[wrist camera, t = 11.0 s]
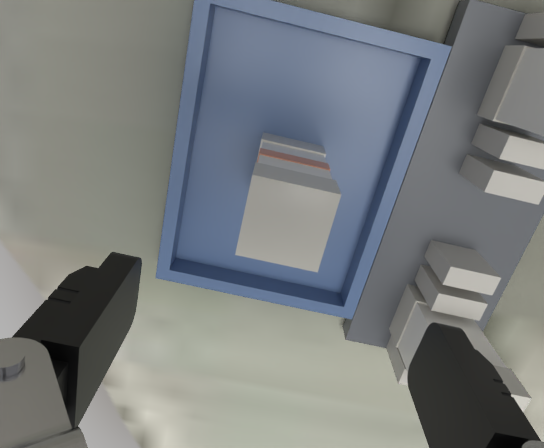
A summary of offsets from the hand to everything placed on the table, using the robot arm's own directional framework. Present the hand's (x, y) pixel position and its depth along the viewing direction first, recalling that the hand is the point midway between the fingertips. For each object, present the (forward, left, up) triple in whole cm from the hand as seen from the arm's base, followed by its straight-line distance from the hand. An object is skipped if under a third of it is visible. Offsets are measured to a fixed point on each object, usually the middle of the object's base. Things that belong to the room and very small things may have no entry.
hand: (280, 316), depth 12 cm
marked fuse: (0, 0, -16) cm, 16 cm away
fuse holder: (0, +12, -17) cm, 20 cm away
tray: (0, 0, -17) cm, 17 cm away
